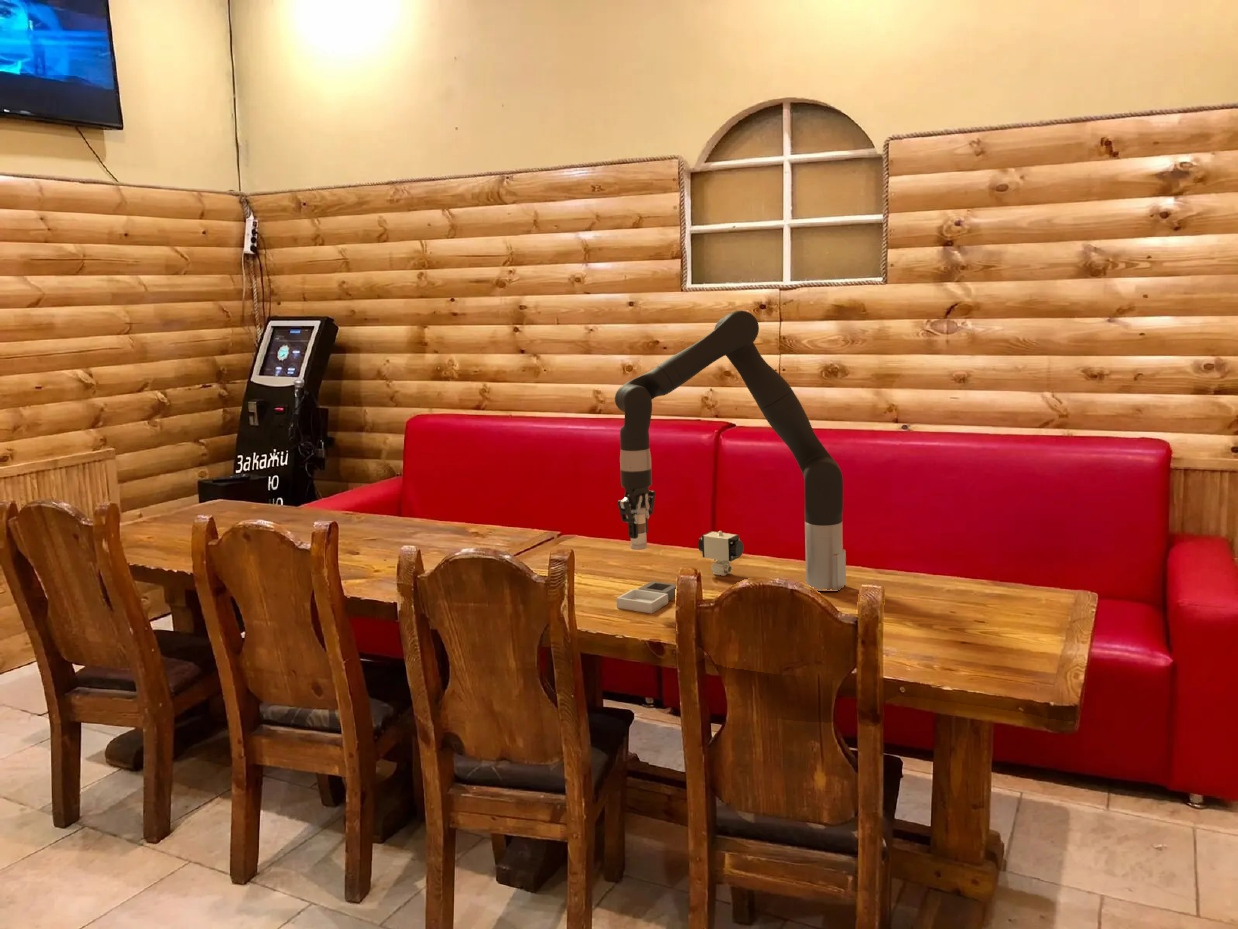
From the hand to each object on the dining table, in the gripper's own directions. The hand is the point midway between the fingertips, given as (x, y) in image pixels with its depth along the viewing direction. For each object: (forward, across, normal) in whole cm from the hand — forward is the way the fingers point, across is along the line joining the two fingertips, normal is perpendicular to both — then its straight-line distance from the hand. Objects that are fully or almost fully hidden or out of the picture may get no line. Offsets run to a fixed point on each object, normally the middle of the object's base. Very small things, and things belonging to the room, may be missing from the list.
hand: (638, 535), depth 232 cm
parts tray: (+18, -1, -1) cm, 18 cm away
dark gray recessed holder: (+18, +7, -1) cm, 19 cm away
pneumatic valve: (+18, +31, -6) cm, 36 cm away
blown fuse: (+3, 0, 0) cm, 3 cm away
